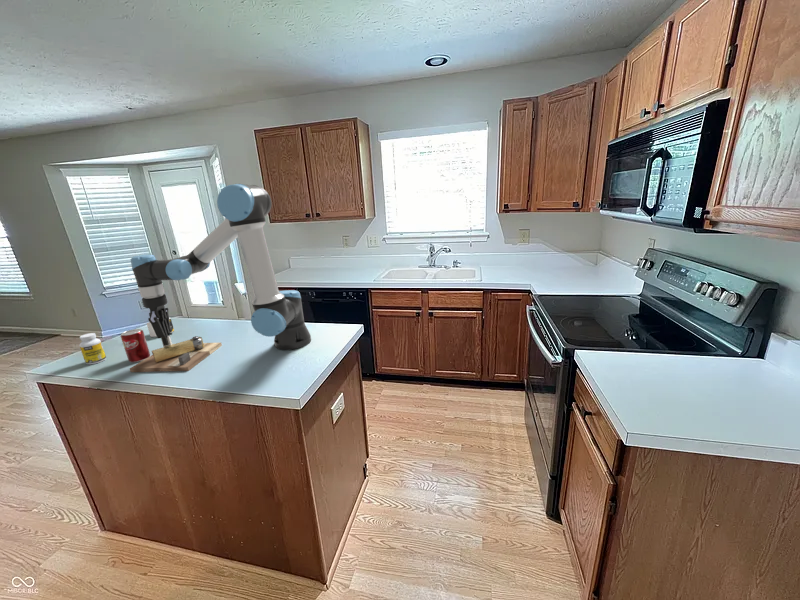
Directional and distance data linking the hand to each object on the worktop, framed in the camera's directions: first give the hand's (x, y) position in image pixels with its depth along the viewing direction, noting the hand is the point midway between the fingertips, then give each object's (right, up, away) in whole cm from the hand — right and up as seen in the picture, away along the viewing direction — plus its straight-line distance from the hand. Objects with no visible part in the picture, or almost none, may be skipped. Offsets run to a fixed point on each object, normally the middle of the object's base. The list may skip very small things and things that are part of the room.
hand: (169, 351), depth 134 cm
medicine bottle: (-23, +4, +29) cm, 37 cm away
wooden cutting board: (+3, -3, +1) cm, 5 cm away
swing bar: (+4, -1, 0) cm, 4 cm away
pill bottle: (-32, -5, +2) cm, 32 cm away
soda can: (-14, -4, +2) cm, 14 cm away
